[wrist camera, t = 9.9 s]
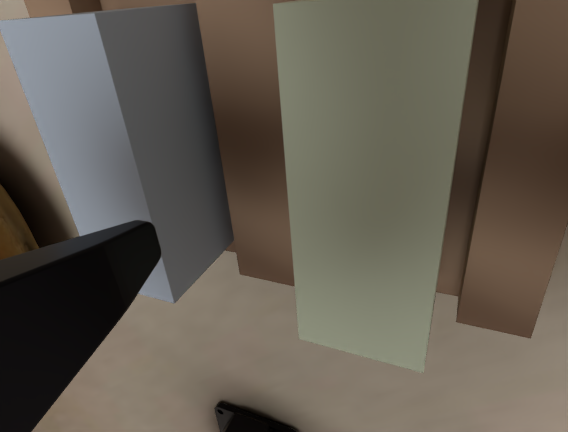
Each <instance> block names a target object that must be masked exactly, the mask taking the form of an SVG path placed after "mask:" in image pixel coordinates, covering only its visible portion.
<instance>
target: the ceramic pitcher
mask: <svg viewBox="0 0 568 432" xmlns="http://www.w3.org/2000/svg"><path fill="white" fill-rule="evenodd" d="M35 249H39V246H38V245H37V243H36V241H35V239H34V237H33V235H32V233H31V231H30V229H29V228H28V226H27V224H26V222H25V220H24V218H23V217H22V215H21V213H20V211H19V210H18V208H17V207H16V205H15V204H14V202H13V201H12V199H11V198H10V196H9V195H8V193H7V192H6V190H5V189H4V188H3V187H2V186H1V184H0V260H1V259H5V258H8V257H12V256H15V255H18V254H22V253H25V252H29V251H32V250H35Z"/></svg>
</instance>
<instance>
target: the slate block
mask: <svg viewBox="0 0 568 432" xmlns="http://www.w3.org/2000/svg"><path fill="white" fill-rule="evenodd" d="M0 31H1V33H2V36H3V39H4V41H5V44H6V46H7V49H8V52H9V54H10V57H11V59H12V62H13V64H14V67H15V70H16V72H17V75H18V77H19V80H20V83H21V85H22V88H23V90H24V93H25V95H26V98H27V101H28V103H29V106H30V108H31V111H32V114H33V116H34V119H35V121H36V124H37V126H38V129H39V132H40V134H41V137H42V139H43V142H44V145H45V147H46V150H47V152H48V155H49V157H50V160H51V163H52V165H53V168H54V170H55V173H56V176H57V178H58V181H59V183H60V186H61V188H62V191H63V194H64V196H65V199H66V201H67V204H68V207H69V209H70V212H71V214H72V217H73V219H74V222H75V225H76V227H77V230H78V232H79V235H80V236H83V235H86V234H90V233H93V232H96V231H100V230H103V229H106V228H110V227H113V226H117V225H120V224H123V223H127V222H130V221H134V220H142V221H147V222H151V223H152V224H153V225H154V226H155V229H156V233H157V236H158V240H159V244H160V247H161V258H160V260H159V262H158V264H157V265H156V267H155V268H154V270H153V271H152V273H151V274H150V276H149V277H148V279H147V280H146V282H145V283H144V285H143V287H142V288H141V290H140V291H139V293H138V294H141V295H145V296H149V297H152V298H156V299H160V300H163V301H167V302H171V303H175V302H176V301H177V300H178V299H179V298H180V297H181V296H182V295H183V294H184V293H185V292H186V291H187V290H188V289H189V288H190V286H191V285H192V284H193V283H194V282H195V281H196V280H197V279H198V278H199V277H200V276H201V275H202V274H203V273H204V272H205V271H206V270H207V268H208V267H209V266H210V265H211V264H212V263H213V262H214V261H215V260H216V259H217V258H218V257H219V256H220V255H221V254H222V253H223V252H224V250H225V249H226V248H227V247H228V246H229V245H230V244H231V243H232V242H233V241H234V235H233V229H232V223H231V216H230V210H229V204H228V198H227V192H226V186H225V179H224V173H223V167H222V161H221V155H220V149H219V142H218V136H217V130H216V124H215V118H214V112H213V105H212V99H211V93H210V87H209V81H208V75H207V68H206V62H205V56H204V50H203V44H202V38H201V31H200V25H199V19H198V13H197V7H196V3H189V4H176V5H164V6H152V7H139V8H127V9H115V10H105V11H95V12H84V13H74V14H64V15H53V16H43V17H32V18H22V19H12V20H1V21H0Z"/></svg>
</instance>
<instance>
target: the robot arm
mask: <svg viewBox="0 0 568 432" xmlns="http://www.w3.org/2000/svg"><path fill="white" fill-rule="evenodd" d="M160 258H161V247H160V244H159V240H158V236H157V233H156V229H155V226H154V225H153V224H152V223H151V222H147V221H142V220H134V221H130V222H127V223H123V224H120V225H117V226H113V227H110V228H106V229H103V230H100V231H96V232H93V233H90V234H86V235H83V236H79V237H76V238H73V239H69V240H66V241H62V242H59V243H56V244H52V245H49V246H45V247H42V248H39V249H35V250H32V251H29V252H25V253H22V254H18V255H15V256H12V257H8V258H5V259H1V260H0V432H31V431H32V430H33V429H34V428H35V426H36V425H37V424H38V423H39V421H40V420H41V419H42V418H43V416H44V415H45V414H46V412H47V411H48V410H49V409H50V407H51V406H52V405H53V404H54V402H55V401H56V400H57V399H58V397H59V396H60V395H61V393H62V392H63V391H64V390H65V388H66V387H67V386H68V385H69V383H70V382H71V381H72V379H73V378H74V377H75V376H76V374H77V373H78V372H79V371H80V369H81V368H82V367H83V366H84V364H85V363H86V362H87V360H88V359H89V358H90V357H91V355H92V354H93V353H94V352H95V350H96V349H97V348H98V347H99V345H100V344H101V343H102V341H103V340H104V339H105V338H106V336H107V335H108V334H109V333H110V331H111V330H112V329H113V328H114V326H115V325H116V324H117V322H118V321H119V320H120V319H121V317H122V316H123V315H124V313H125V312H126V311H127V309H128V308H129V306H130V305H131V303H132V302H133V300H134V299H135V297H136V296H137V294H138V293H139V291H140V290H141V288H142V287H143V285H144V283H145V282H146V280H147V279H148V277H149V276H150V274H151V273H152V271H153V270H154V268H155V267H156V265H157V264H158V262H159V260H160ZM215 413H216V417H217V421H218V425H219V429H220V432H296V431H295V430H294V429H292V428H289V427H286V426H284V425H281V424H278V423H275V422H273V421H270V420H267V419H265V418H262V417H259V416H256V415H254V414H251V413H248V412H246V411H243V410H240V409H237V408H235V407H232V406H229V405H227V404H224V403H220V402H219V403H218V404H217V405H216V407H215Z"/></svg>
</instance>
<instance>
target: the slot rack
mask: <svg viewBox="0 0 568 432" xmlns="http://www.w3.org/2000/svg"><path fill="white" fill-rule="evenodd" d="M290 1H297V0H24V2H25V5H26V7H27V10H28V13H29V16H30V18H32V17H43V16H53V15H64V14H74V13H84V12H95V11H105V10H115V9H127V8H139V7H152V6H164V5H176V4H189V3H196V7H197V13H198V19H199V25H200V31H201V38H202V44H203V50H204V56H205V62H206V68H207V75H208V81H209V87H210V93H211V99H212V105H213V112H214V118H215V124H216V130H217V136H218V142H219V149H220V155H221V161H222V167H223V173H224V179H225V186H226V192H227V198H228V204H229V210H230V216H231V223H232V229H233V235H234V241H233V242H232V243H231V244H230V245H229V246H228V247H227V248H226V249H225V250H226V251H231V252H236V253H237V260H238V266H239V272H240V274H241V275H245V276H250V277H254V278H259V279H263V280H268V281H272V282H277V283H281V284H286V285H291V286H295V282H294V269H293V257H292V244H291V231H290V218H289V205H288V193H287V180H286V167H285V154H284V141H283V129H282V116H281V103H280V90H279V77H278V65H277V52H276V39H275V26H274V13H273V4H276V3H283V2H290ZM567 224H568V0H479V3H478V10H477V17H476V23H475V30H474V37H473V44H472V51H471V58H470V64H469V71H468V78H467V85H466V92H465V99H464V105H463V112H462V119H461V126H460V133H459V140H458V146H457V153H456V160H455V167H454V174H453V181H452V187H451V194H450V201H449V208H448V215H447V222H446V228H445V235H444V242H443V249H442V256H441V262H440V269H439V276H438V282H437V289H436V292H439V293H444V294H449V295H454V296H458V308H457V320H456V322H458V323H463V324H467V325H472V326H477V327H481V328H486V329H490V330H495V331H499V332H504V333H508V334H513V335H517V336H522V337H526V338H531V336H532V333H533V330H534V327H535V324H536V320H537V317H538V314H539V311H540V308H541V305H542V302H543V299H544V295H545V292H546V289H547V286H548V283H549V280H550V277H551V274H552V270H553V267H554V264H555V261H556V258H557V255H558V252H559V249H560V245H561V242H562V239H563V236H564V233H565V230H566V227H567Z"/></svg>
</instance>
